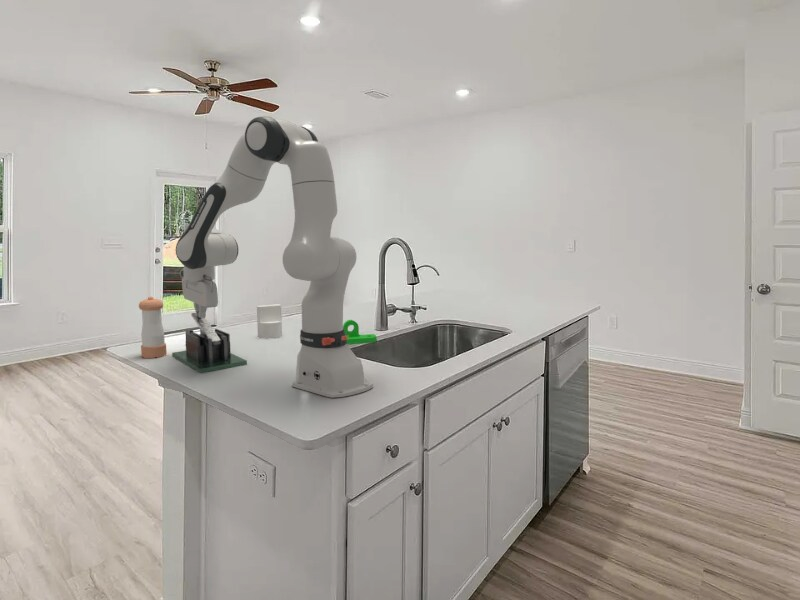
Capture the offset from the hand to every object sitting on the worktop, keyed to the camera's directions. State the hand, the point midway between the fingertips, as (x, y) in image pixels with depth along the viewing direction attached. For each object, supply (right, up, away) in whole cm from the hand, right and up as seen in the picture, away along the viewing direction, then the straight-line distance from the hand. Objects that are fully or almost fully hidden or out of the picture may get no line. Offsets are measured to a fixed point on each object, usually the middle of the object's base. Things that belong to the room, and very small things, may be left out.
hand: (200, 317), depth 155 cm
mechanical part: (+49, -10, +27) cm, 56 cm away
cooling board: (+3, -13, -2) cm, 14 cm away
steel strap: (+3, -4, -2) cm, 5 cm away
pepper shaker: (-16, -13, +3) cm, 21 cm away
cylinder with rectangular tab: (+13, -9, +33) cm, 37 cm away
